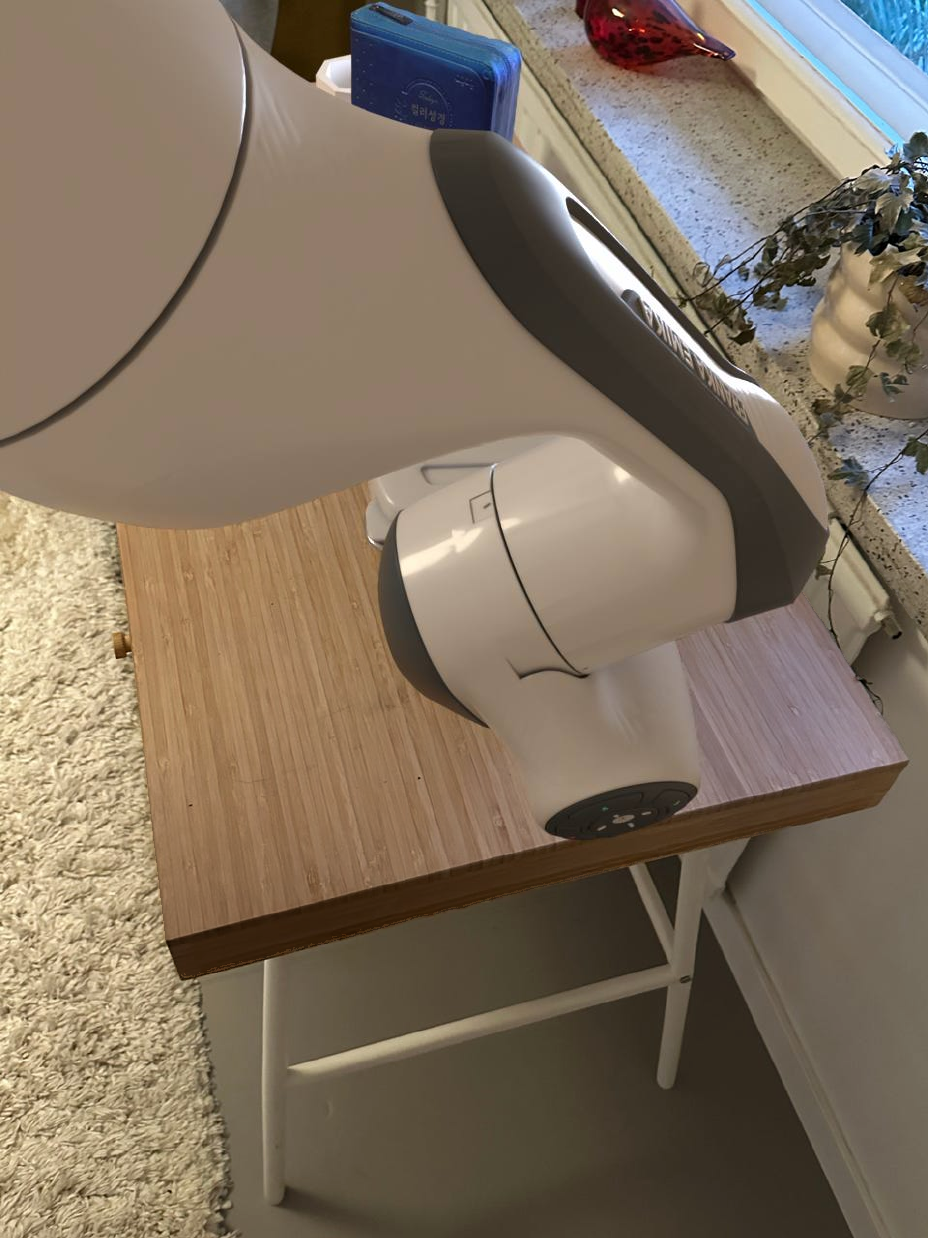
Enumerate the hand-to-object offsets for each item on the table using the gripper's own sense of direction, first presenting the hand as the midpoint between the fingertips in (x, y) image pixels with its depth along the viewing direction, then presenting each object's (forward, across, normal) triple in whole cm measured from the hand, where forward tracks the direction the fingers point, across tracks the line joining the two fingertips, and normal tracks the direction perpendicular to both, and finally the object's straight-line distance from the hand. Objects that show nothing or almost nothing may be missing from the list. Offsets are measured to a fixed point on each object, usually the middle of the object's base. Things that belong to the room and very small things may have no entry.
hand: (523, 386), depth 63 cm
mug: (+46, -7, -13) cm, 49 cm away
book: (+34, -3, -13) cm, 36 cm away
